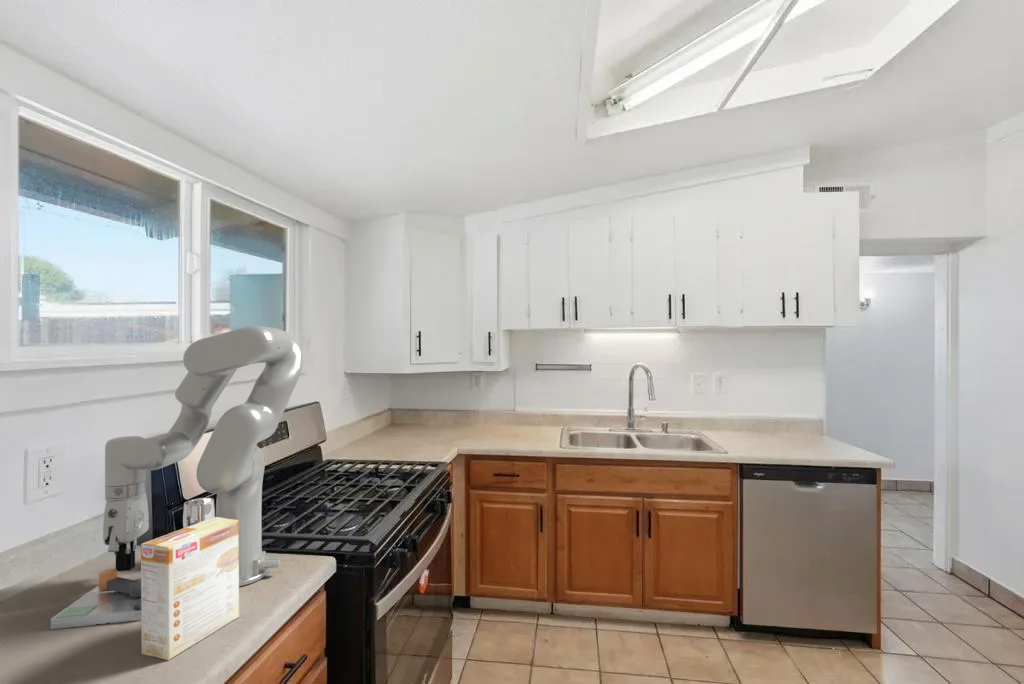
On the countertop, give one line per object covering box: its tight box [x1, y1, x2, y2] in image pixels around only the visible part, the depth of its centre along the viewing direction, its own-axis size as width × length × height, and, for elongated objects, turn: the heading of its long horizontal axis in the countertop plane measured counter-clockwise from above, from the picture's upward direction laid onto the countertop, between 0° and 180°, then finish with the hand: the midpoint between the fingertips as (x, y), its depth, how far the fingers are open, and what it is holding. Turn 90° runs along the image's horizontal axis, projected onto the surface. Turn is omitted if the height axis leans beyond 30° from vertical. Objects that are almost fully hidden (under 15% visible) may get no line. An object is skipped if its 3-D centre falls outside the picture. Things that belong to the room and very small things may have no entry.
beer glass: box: [182, 497, 216, 529], centre depth 128 cm, size 7×7×15 cm
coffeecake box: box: [140, 516, 240, 661], centre depth 93 cm, size 15×7×20 cm, turn 162°
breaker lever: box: [98, 568, 141, 597], centre depth 106 cm, size 13×4×3 cm, turn 71°
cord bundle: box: [134, 601, 141, 611], centre depth 105 cm, size 4×17×3 cm, turn 10°
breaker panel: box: [50, 585, 141, 630], centre depth 104 cm, size 16×14×2 cm
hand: (125, 569), depth 115 cm, fingers closed
